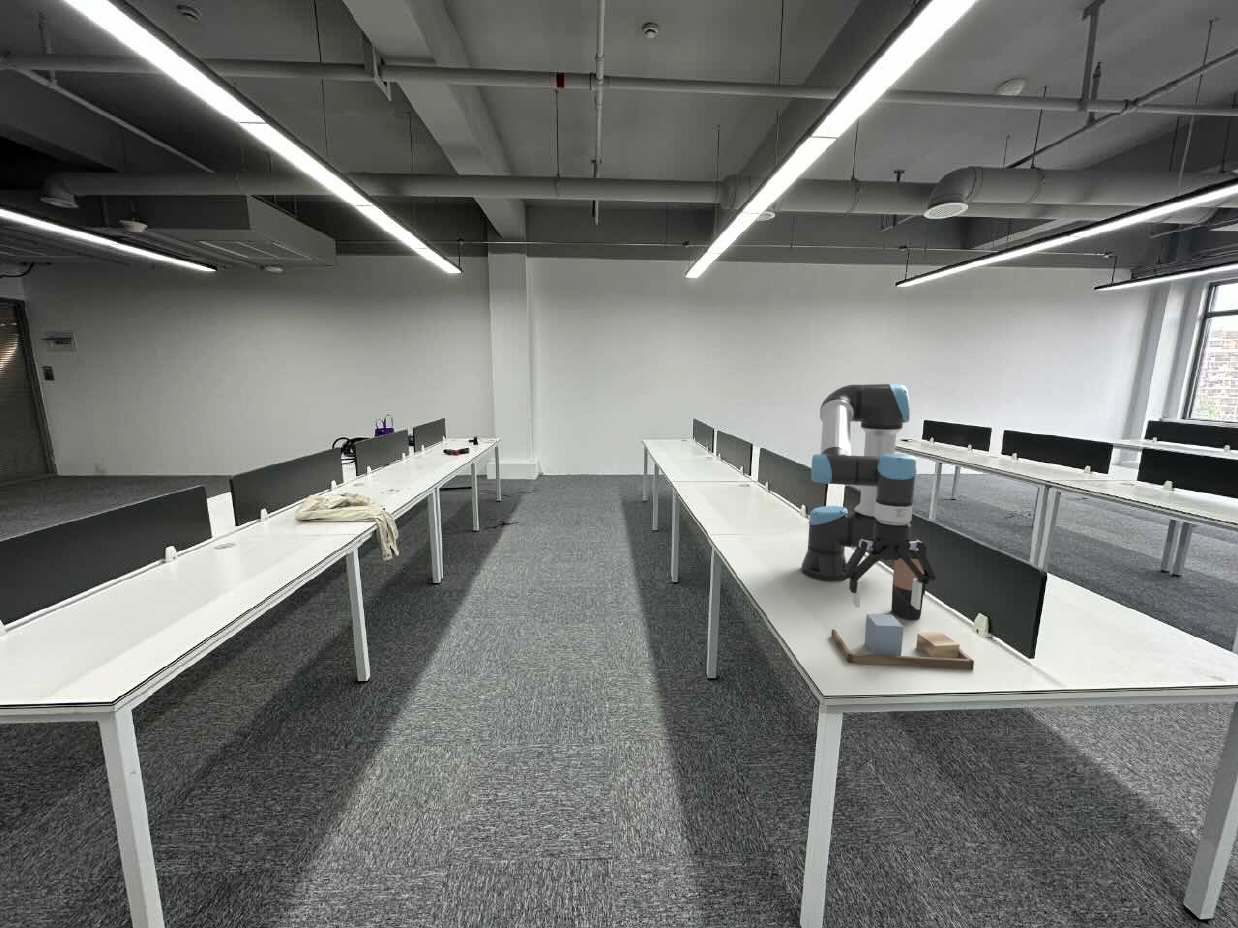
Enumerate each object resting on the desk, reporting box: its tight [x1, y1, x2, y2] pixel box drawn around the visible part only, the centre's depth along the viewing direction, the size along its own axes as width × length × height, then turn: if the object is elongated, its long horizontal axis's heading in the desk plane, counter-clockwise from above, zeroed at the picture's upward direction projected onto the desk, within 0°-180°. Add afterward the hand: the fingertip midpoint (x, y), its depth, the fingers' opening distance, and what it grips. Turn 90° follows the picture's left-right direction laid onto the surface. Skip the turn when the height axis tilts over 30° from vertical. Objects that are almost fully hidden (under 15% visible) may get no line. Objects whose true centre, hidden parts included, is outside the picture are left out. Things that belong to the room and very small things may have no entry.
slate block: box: [863, 613, 905, 656], centre depth 117 cm, size 6×6×8 cm
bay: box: [830, 629, 975, 670], centre depth 117 cm, size 12×27×2 cm, turn 84°
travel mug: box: [891, 545, 928, 621], centre depth 135 cm, size 8×8×20 cm
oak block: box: [915, 631, 961, 659], centre depth 116 cm, size 6×6×4 cm
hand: (885, 605), depth 116 cm, fingers open, 13 cm apart
